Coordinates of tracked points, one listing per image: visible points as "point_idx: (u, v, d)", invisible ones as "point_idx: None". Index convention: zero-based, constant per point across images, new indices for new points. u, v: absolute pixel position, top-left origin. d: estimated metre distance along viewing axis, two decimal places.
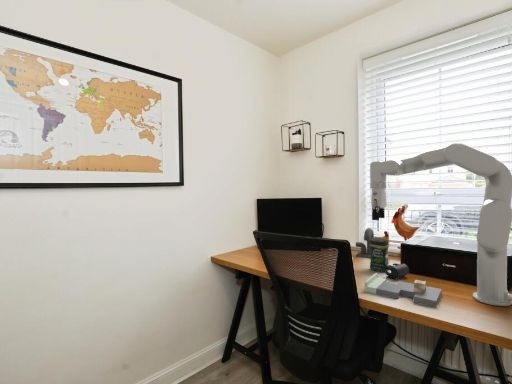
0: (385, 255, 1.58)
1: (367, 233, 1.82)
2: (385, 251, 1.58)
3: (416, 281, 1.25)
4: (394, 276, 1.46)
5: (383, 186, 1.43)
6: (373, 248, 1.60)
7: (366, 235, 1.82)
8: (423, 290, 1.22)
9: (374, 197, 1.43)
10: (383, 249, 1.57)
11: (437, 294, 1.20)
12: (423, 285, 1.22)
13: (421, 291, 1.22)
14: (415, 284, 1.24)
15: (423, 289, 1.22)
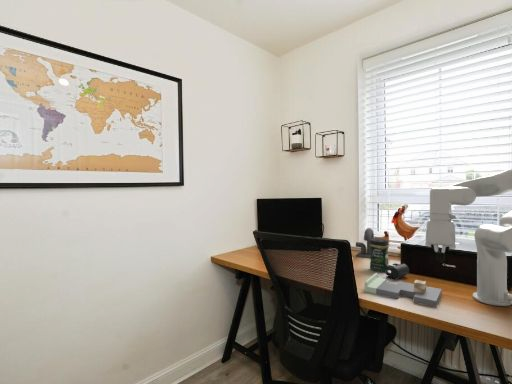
0: (385, 255, 1.58)
1: (367, 233, 1.82)
2: (385, 251, 1.58)
3: (416, 281, 1.25)
4: (394, 276, 1.46)
5: None
6: (373, 248, 1.60)
7: (366, 235, 1.82)
8: (423, 290, 1.22)
9: (454, 232, 1.15)
10: (383, 249, 1.57)
11: (437, 294, 1.20)
12: (423, 285, 1.22)
13: (421, 291, 1.22)
14: (415, 284, 1.24)
15: (423, 289, 1.22)
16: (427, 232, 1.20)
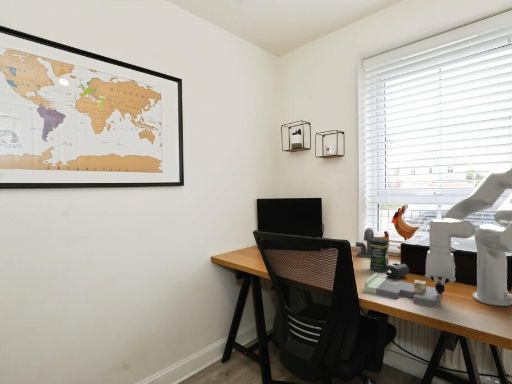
0: (385, 255, 1.58)
1: (367, 233, 1.82)
2: (385, 251, 1.58)
3: (416, 281, 1.25)
4: (394, 276, 1.46)
5: None
6: (373, 248, 1.60)
7: (366, 235, 1.82)
8: (423, 290, 1.22)
9: (454, 265, 1.16)
10: (383, 249, 1.57)
11: (437, 294, 1.20)
12: (423, 285, 1.22)
13: (421, 291, 1.22)
14: (415, 284, 1.24)
15: (423, 289, 1.22)
16: (427, 264, 1.21)
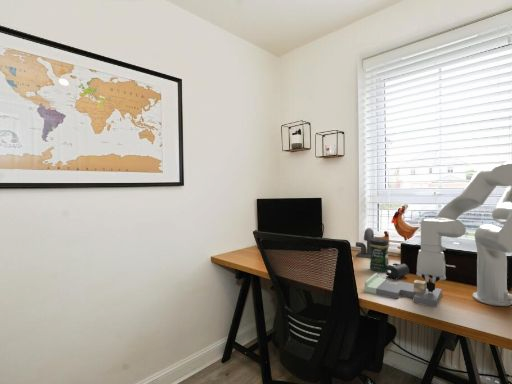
0: (385, 255, 1.58)
1: (367, 233, 1.82)
2: (385, 251, 1.58)
3: (416, 281, 1.25)
4: (394, 276, 1.46)
5: None
6: (373, 248, 1.60)
7: (366, 235, 1.82)
8: (423, 290, 1.22)
9: (444, 264, 1.18)
10: (383, 249, 1.57)
11: (437, 294, 1.20)
12: (423, 285, 1.22)
13: (421, 291, 1.22)
14: (415, 284, 1.24)
15: (423, 289, 1.22)
16: (418, 262, 1.23)
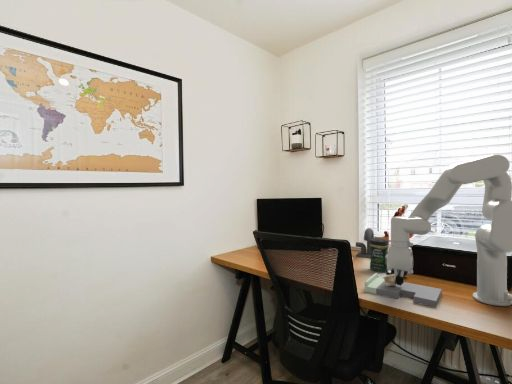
0: (385, 255, 1.58)
1: (367, 233, 1.82)
2: (385, 251, 1.58)
3: (386, 276, 1.33)
4: None
5: None
6: (373, 248, 1.60)
7: (366, 235, 1.82)
8: (393, 282, 1.29)
9: (411, 258, 1.26)
10: (383, 249, 1.57)
11: (437, 294, 1.20)
12: (392, 277, 1.29)
13: (392, 284, 1.30)
14: (385, 278, 1.31)
15: (393, 281, 1.29)
16: (388, 257, 1.30)
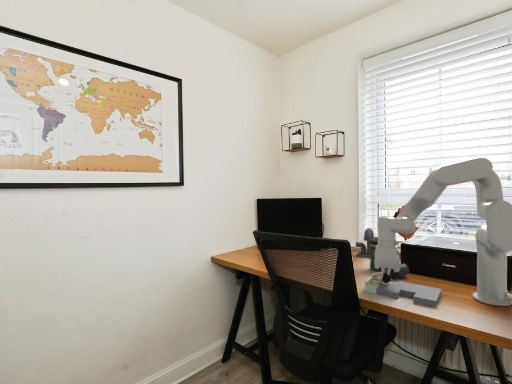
0: None
1: (367, 233, 1.82)
2: None
3: (373, 274, 1.36)
4: (394, 276, 1.46)
5: None
6: (373, 248, 1.60)
7: (366, 235, 1.82)
8: (380, 280, 1.32)
9: (398, 257, 1.29)
10: None
11: (437, 294, 1.20)
12: (379, 275, 1.33)
13: (379, 281, 1.33)
14: (373, 277, 1.34)
15: (380, 279, 1.33)
16: (375, 256, 1.34)
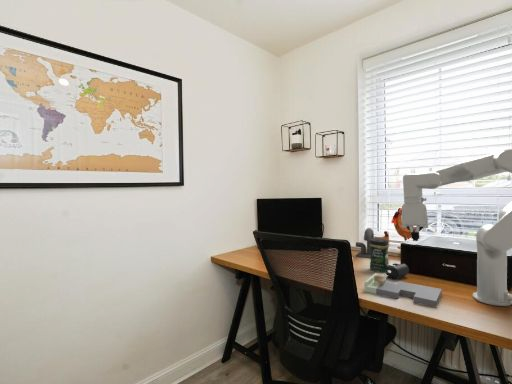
0: (385, 255, 1.58)
1: (367, 233, 1.82)
2: (385, 251, 1.58)
3: (376, 274, 1.35)
4: (394, 276, 1.46)
5: None
6: (373, 248, 1.60)
7: (366, 235, 1.82)
8: (382, 282, 1.32)
9: (426, 213, 1.28)
10: (383, 249, 1.57)
11: (437, 294, 1.20)
12: (382, 278, 1.32)
13: (380, 283, 1.33)
14: (375, 277, 1.34)
15: (382, 281, 1.32)
16: (402, 215, 1.32)
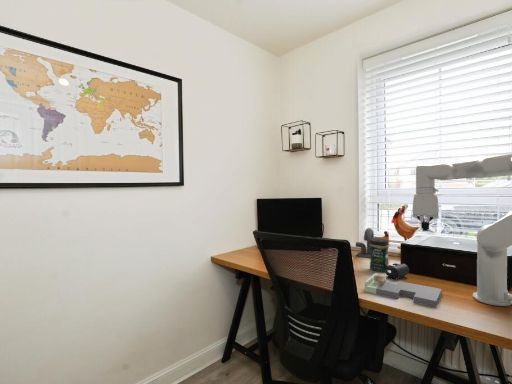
0: (385, 255, 1.58)
1: (367, 233, 1.82)
2: (385, 251, 1.58)
3: (376, 274, 1.35)
4: (394, 276, 1.46)
5: None
6: (373, 248, 1.60)
7: (366, 235, 1.82)
8: (382, 282, 1.32)
9: (437, 204, 1.30)
10: (383, 249, 1.57)
11: (437, 294, 1.20)
12: (382, 278, 1.32)
13: (380, 283, 1.33)
14: (375, 277, 1.34)
15: (382, 281, 1.32)
16: (413, 205, 1.35)
